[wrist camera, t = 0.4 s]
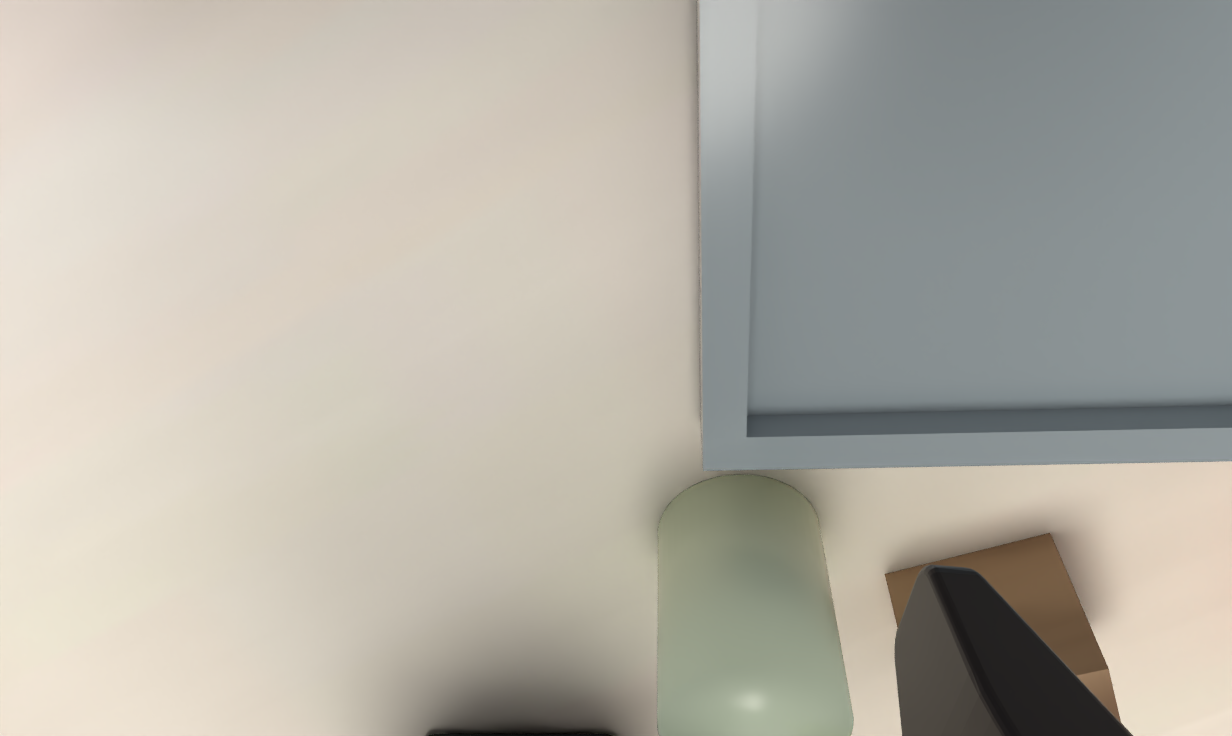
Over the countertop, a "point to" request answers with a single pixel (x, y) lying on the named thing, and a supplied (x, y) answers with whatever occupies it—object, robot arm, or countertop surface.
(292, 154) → the countertop surface
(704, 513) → the sage green capsule
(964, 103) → the dish
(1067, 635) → the walnut block
